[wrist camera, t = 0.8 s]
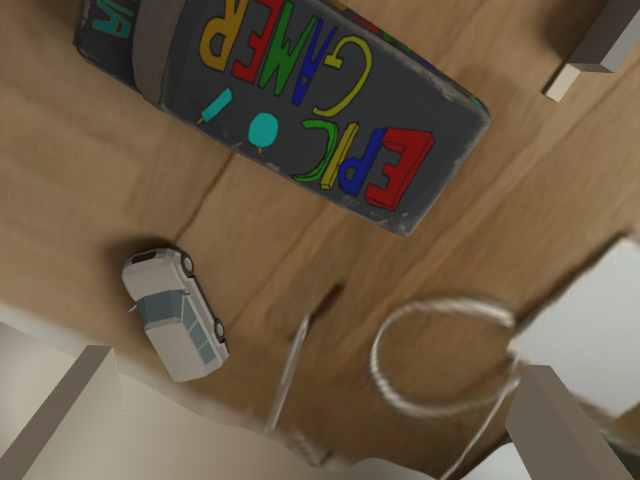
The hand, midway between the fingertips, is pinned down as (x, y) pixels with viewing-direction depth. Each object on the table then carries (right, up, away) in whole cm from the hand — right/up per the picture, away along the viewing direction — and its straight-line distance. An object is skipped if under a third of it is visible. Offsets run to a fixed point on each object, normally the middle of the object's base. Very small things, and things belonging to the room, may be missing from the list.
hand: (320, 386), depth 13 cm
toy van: (-2, +17, +17) cm, 24 cm away
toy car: (-13, -1, +25) cm, 29 cm away
